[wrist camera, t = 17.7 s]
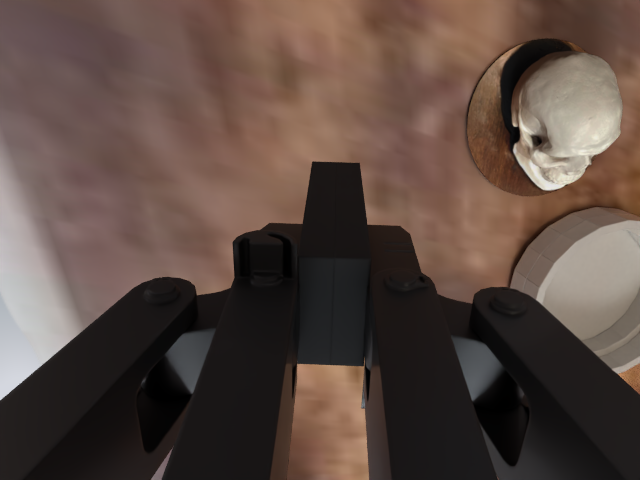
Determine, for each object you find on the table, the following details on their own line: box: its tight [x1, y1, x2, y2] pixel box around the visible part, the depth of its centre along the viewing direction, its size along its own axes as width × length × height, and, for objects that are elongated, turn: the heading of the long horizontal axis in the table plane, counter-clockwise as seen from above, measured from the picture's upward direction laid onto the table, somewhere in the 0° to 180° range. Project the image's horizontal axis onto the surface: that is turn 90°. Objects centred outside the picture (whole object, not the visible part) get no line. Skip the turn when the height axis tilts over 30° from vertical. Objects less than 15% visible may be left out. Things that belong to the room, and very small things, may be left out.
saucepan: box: [510, 207, 640, 374], centre depth 45 cm, size 14×14×4 cm
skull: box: [467, 39, 623, 196], centre depth 40 cm, size 12×10×10 cm
